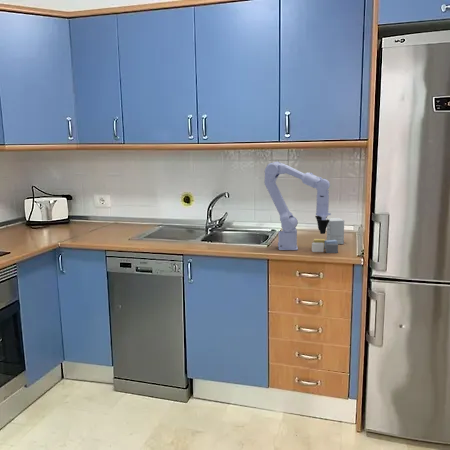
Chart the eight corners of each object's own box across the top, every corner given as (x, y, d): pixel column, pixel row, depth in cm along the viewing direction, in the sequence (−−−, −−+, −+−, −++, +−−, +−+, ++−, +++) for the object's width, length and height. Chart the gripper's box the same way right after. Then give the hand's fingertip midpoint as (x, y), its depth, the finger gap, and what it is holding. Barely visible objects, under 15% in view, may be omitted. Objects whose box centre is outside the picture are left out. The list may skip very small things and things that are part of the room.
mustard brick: (313, 248, 236) (314, 240, 235) (313, 246, 239) (313, 238, 238) (325, 248, 235) (325, 240, 234) (324, 246, 238) (324, 238, 237)
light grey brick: (312, 252, 228) (312, 244, 227) (311, 250, 231) (311, 242, 230) (323, 252, 228) (323, 244, 227) (323, 250, 231) (323, 242, 230)
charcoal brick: (326, 253, 226) (326, 245, 225) (325, 251, 228) (325, 243, 228) (337, 253, 225) (338, 245, 224) (336, 251, 228) (337, 243, 227)
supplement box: (340, 241, 249) (340, 217, 246) (343, 244, 241) (344, 220, 239) (326, 241, 248) (326, 218, 246) (329, 244, 241) (330, 220, 239)
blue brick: (327, 249, 232) (327, 241, 231) (324, 248, 235) (324, 240, 234) (337, 248, 233) (337, 241, 232) (334, 247, 236) (334, 239, 235)
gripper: (333, 206, 218) (332, 235, 221) (329, 202, 232) (328, 228, 235) (317, 206, 218) (316, 235, 221) (314, 202, 233) (314, 228, 235)
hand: (321, 232), depth 228 cm, fingers open, 7 cm apart
